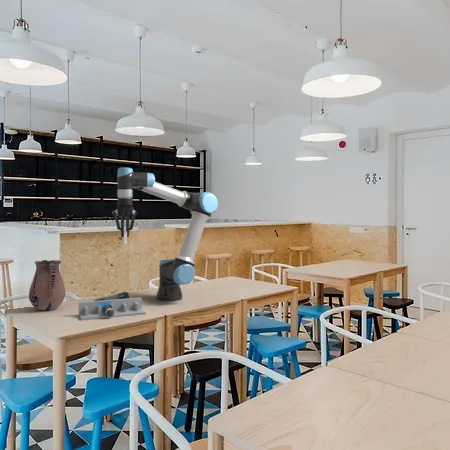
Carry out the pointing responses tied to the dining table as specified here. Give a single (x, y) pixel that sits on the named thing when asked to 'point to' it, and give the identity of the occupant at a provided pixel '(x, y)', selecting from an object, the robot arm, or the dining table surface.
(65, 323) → the dining table surface
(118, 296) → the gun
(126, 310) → the spiked grey rail
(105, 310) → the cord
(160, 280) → the robot arm
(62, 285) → the ceramic pitcher
